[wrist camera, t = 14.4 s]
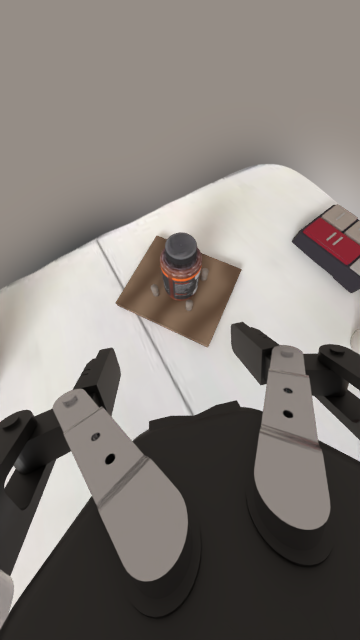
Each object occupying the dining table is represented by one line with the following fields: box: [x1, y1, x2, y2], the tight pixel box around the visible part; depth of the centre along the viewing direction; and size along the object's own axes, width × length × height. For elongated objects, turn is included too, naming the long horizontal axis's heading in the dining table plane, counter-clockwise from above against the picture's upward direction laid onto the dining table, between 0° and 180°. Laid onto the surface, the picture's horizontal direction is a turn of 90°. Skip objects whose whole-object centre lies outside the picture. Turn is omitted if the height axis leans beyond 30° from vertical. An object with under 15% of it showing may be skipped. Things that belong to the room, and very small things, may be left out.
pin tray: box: [116, 236, 242, 347], centre depth 33 cm, size 18×16×4 cm
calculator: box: [292, 204, 360, 293], centre depth 35 cm, size 11×4×15 cm
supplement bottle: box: [160, 233, 202, 301], centre depth 28 cm, size 6×6×11 cm
